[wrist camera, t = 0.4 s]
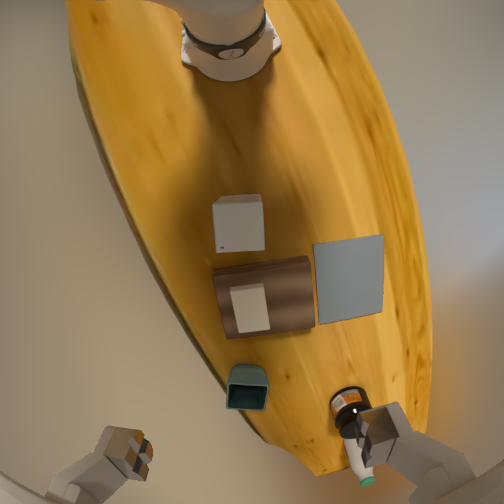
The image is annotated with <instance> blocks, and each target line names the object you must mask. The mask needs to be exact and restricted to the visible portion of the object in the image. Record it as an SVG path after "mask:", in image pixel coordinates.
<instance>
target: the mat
mask: <svg viewBox="0 0 504 504" xmlns="http://www.w3.org/2000/svg"><path fill="white" fill-rule="evenodd" d="M313 249H314V260H315V271H316V284H317V299H318V315H319V324H324V323H330V322H335V321H340V320H345V319H350V318H355V317H360V316H364V315H369V314H374V313H378V312H382V306H383V284H384V234H380V235H374V236H367V237H361V238H354V239H347V240H341V241H334V242H328V243H321V244H314V245H313Z"/></svg>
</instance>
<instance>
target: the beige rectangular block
mask: <svg viewBox="0 0 504 504" xmlns="http://www.w3.org/2000/svg"><path fill="white" fill-rule="evenodd" d="M230 294H231V299H232V304H233V308H234V313H235V318H236V322H237V327H238V331H239V333H246V332H254V331H261V330H269V329H270V323H269V317H268V311H267V304H266V298H265V291H264V285H263V283H257V284H250V285H243V286H236V287H231V289H230Z"/></svg>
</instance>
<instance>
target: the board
mask: <svg viewBox="0 0 504 504" xmlns="http://www.w3.org/2000/svg"><path fill="white" fill-rule="evenodd" d="M212 278H213V283H214V287H215V291H216V296H217V300H218V304H219V309H220V313H221V317H222V321H223V325H224V329H225V333H226V337H227V339H236V338H245V337H253V336H261V335H268V334H275V333H282V332H289V331H295V330H301V329H307V328H313V327H315V314H314V300H313V287H312V275H311V263H310V261H309V259H308V257H307V256H301V257H294V258H288V259H281V260H274V261H268V262H261V263H254V264H247V265H241V266H234V267H227V268H220V269H215V271H214V273H213V276H212ZM257 283H263V285H264V291H265V298H266V304H267V311H268V317H269V323H270V329H269V330H261V331H254V332H246V333H239V331H238V327H237V322H236V318H235V313H234V308H233V304H232V299H231V294H230V289H231V287H236V286H243V285H250V284H257Z"/></svg>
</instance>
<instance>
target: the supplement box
mask: <svg viewBox="0 0 504 504" xmlns="http://www.w3.org/2000/svg"><path fill="white" fill-rule="evenodd" d="M212 213H213V225H214V236H215V247H216V253H226V252H240V251H259V250H265V232H264V213H263V203H262V199H261V195H260V194H245V195H229V196H221V197H220V198H219V199H218V200H217V201H216V202H214V203H213V204H212Z"/></svg>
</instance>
